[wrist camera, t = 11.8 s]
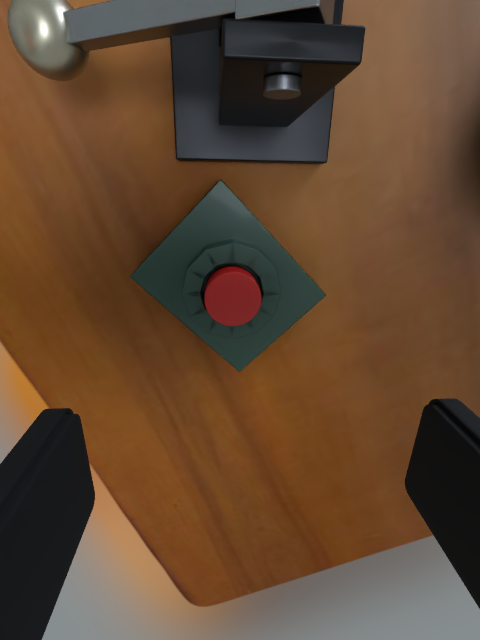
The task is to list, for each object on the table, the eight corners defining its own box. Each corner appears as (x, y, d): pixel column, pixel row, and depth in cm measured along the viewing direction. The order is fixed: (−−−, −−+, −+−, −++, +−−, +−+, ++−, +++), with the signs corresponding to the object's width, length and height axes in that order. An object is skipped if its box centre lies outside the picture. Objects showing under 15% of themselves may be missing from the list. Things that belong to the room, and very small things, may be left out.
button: (194, 292, 22) (192, 300, 21) (232, 254, 22) (233, 259, 20) (231, 326, 23) (232, 337, 22) (269, 292, 23) (273, 299, 21)
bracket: (178, 160, 23) (135, 129, 11) (170, -11, 19) (96, -329, 7) (322, 164, 23) (432, 138, 11) (338, -1, 20) (516, -278, 8)
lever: (61, 91, 18) (0, 72, 15) (49, 14, 16) (-19, -21, 14) (331, 59, 13) (315, 22, 10) (342, -55, 11) (327, -134, 9)
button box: (136, 269, 25) (122, 283, 21) (220, 179, 23) (221, 178, 20) (237, 359, 28) (240, 384, 25) (318, 287, 27) (334, 303, 23)
